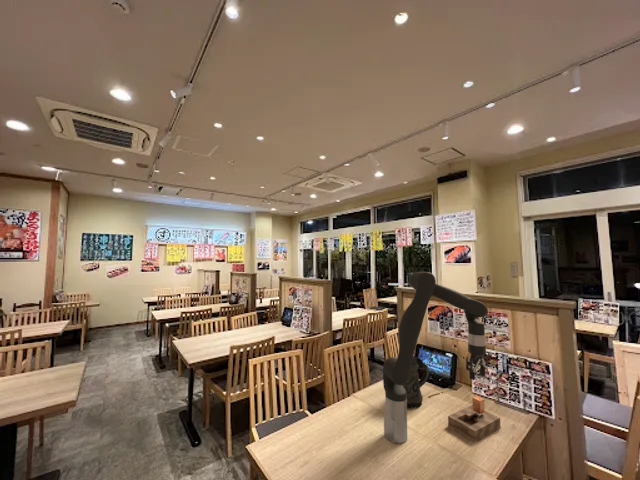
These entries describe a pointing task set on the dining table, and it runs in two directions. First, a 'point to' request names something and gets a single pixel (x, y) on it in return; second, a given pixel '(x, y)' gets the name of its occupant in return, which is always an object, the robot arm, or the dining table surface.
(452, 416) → the keyhole plate
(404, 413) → the robot arm
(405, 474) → the dining table surface
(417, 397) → the beer stein
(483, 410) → the t peg
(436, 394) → the axe
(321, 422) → the dining table surface
